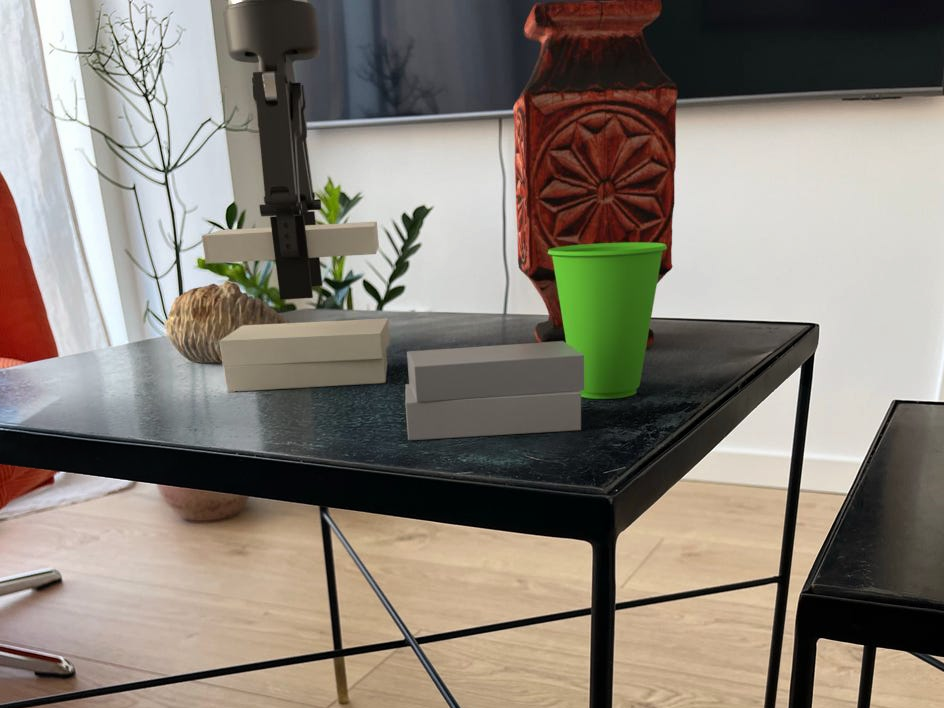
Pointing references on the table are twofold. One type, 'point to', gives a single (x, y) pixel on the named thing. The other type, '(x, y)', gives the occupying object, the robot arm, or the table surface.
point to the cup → (608, 310)
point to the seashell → (213, 319)
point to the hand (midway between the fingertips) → (302, 292)
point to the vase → (592, 140)
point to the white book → (319, 238)
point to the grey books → (494, 390)
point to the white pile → (305, 355)
